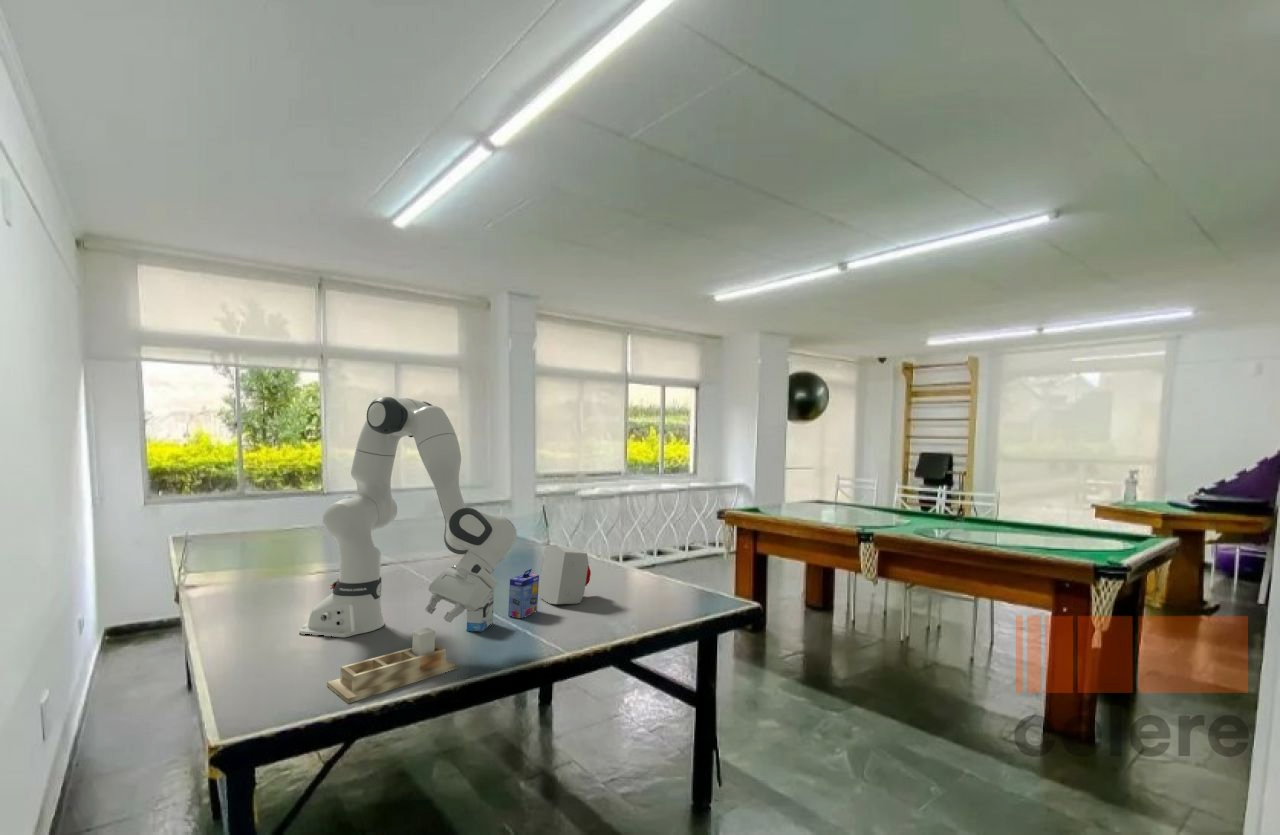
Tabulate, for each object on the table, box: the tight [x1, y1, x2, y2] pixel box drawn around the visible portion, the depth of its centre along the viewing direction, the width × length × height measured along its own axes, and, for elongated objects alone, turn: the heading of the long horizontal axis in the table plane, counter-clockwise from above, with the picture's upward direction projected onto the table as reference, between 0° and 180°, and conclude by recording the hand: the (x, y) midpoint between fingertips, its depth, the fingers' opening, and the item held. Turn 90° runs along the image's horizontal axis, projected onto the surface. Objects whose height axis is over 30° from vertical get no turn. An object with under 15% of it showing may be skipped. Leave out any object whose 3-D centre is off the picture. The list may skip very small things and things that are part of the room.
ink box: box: [466, 588, 495, 632], centre depth 174 cm, size 8×5×12 cm, turn 168°
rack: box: [326, 644, 458, 704], centre depth 137 cm, size 26×12×4 cm, turn 138°
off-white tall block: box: [411, 627, 436, 657], centre depth 143 cm, size 4×4×8 cm
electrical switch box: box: [538, 544, 591, 605], centre depth 206 cm, size 15×15×20 cm
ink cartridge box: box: [507, 568, 540, 619], centre depth 188 cm, size 10×6×14 cm, turn 158°
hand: (437, 616), depth 146 cm, fingers open, 8 cm apart
